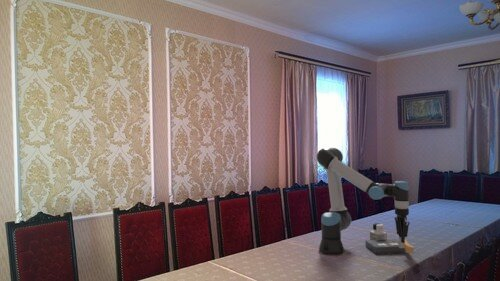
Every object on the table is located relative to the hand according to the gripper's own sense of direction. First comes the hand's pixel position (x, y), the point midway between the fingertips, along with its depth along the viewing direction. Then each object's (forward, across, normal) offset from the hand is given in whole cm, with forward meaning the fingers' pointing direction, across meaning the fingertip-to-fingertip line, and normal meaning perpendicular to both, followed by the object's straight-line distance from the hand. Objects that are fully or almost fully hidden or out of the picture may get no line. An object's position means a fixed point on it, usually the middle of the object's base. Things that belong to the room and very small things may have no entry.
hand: (402, 247), depth 202 cm
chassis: (+6, +15, +3) cm, 16 cm away
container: (+6, +28, +1) cm, 29 cm away
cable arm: (+1, +3, -4) cm, 5 cm away
